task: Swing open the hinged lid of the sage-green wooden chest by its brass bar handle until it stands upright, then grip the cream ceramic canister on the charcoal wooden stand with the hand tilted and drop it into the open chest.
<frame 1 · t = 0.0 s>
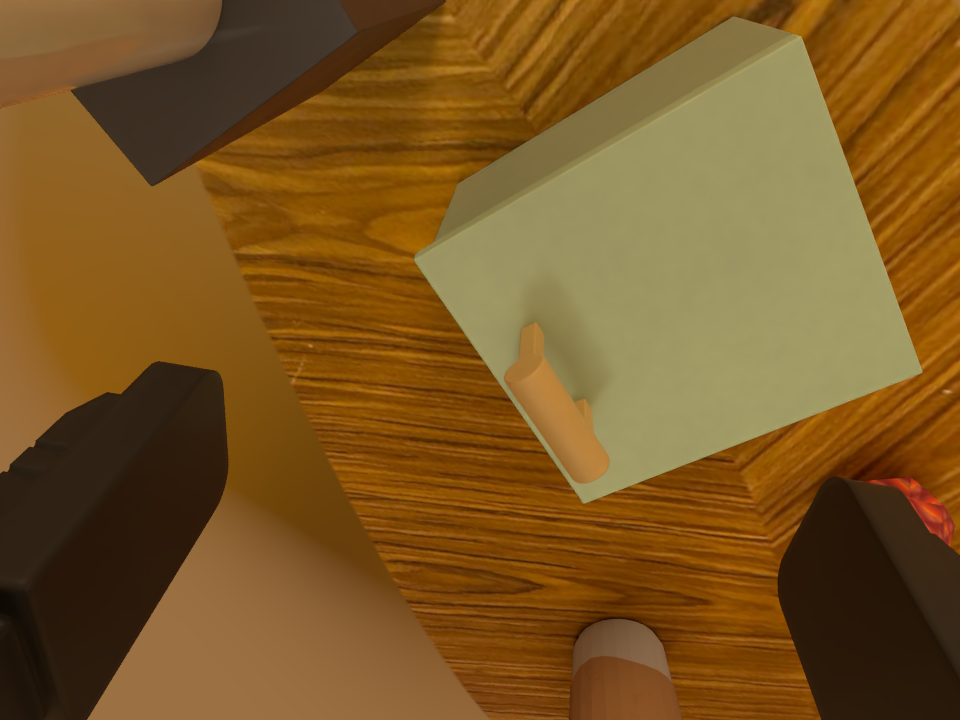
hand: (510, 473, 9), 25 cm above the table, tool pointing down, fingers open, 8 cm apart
red faceted ball: (866, 494, 39), on the table
coffee cup: (617, 643, 48), on the table
chest: (650, 232, 32), on the table
chest lid: (677, 339, 24), point 10 cm above the table, hinge at 0.0°
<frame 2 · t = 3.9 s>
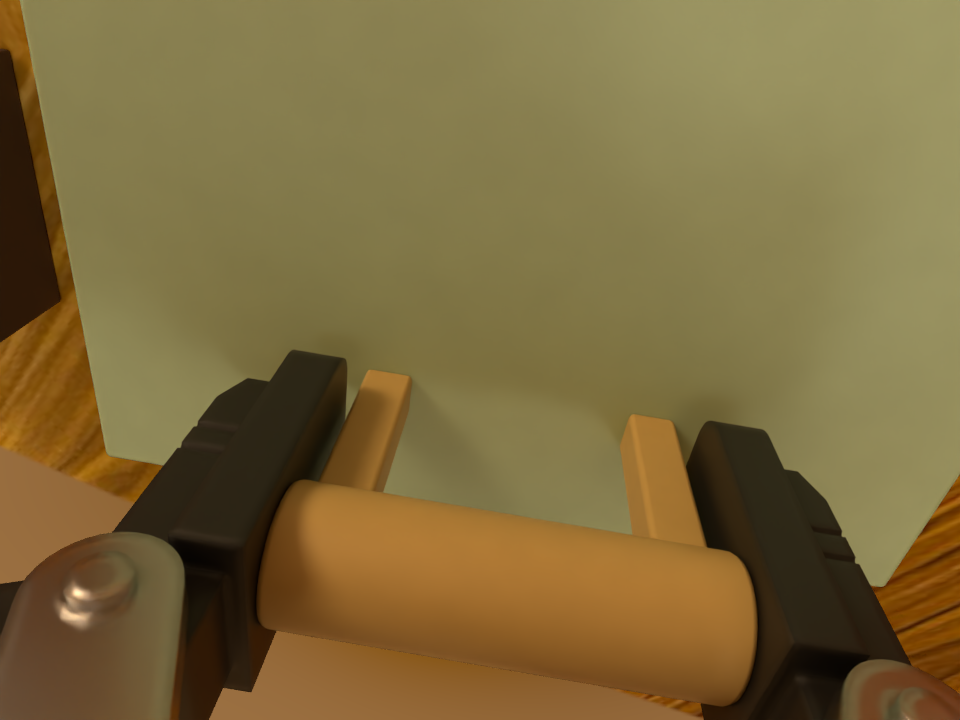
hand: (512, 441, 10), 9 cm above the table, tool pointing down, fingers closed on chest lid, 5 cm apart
chest lid: (595, 105, 6), point 10 cm above the table, hinge at -0.1°, touching gripper
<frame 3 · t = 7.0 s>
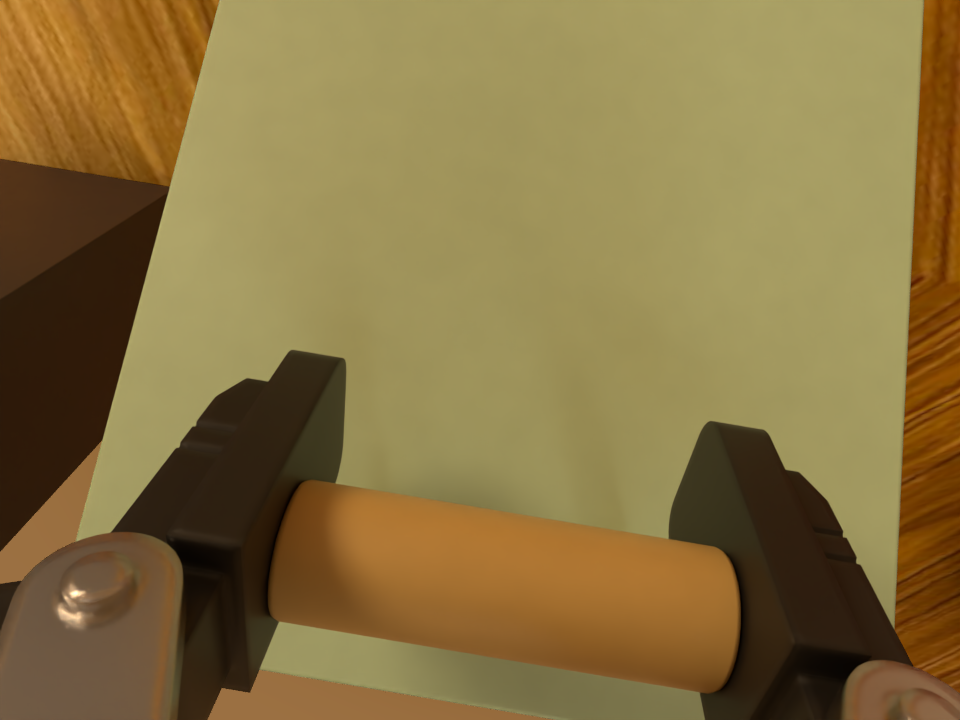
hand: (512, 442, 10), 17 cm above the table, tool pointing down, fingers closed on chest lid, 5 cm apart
chest lid: (544, 245, 10), point 15 cm above the table, hinge at 42.5°, touching gripper
stand: (102, 255, 28), on the table
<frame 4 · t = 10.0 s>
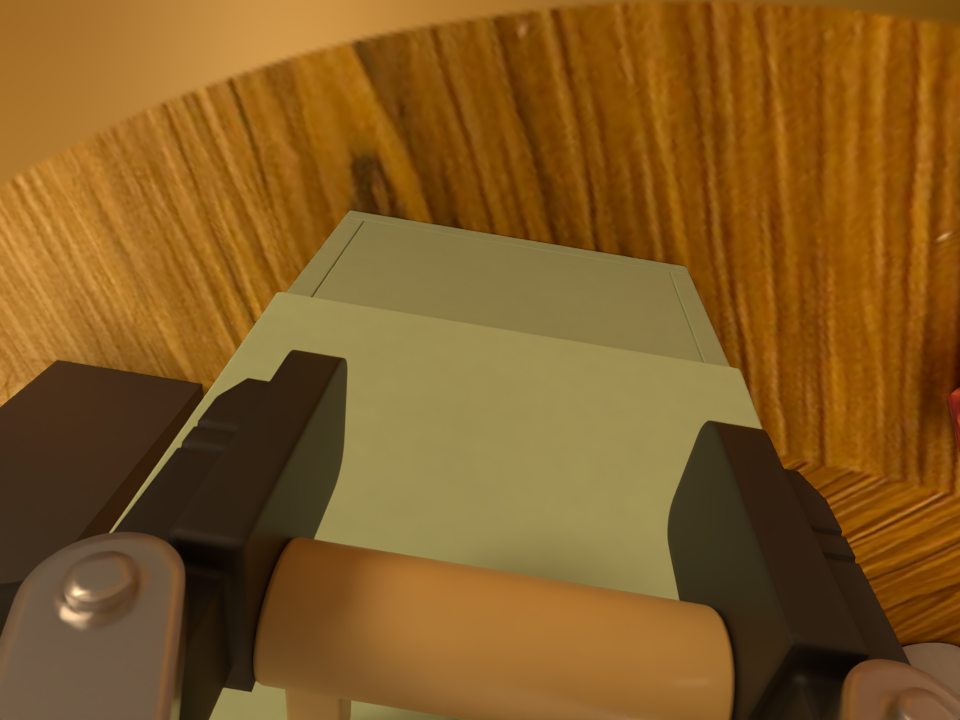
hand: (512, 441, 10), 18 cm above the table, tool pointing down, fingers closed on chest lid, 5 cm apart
coffee cup: (919, 671, 38), on the table
chest: (492, 378, 30), on the table
chest lid: (500, 459, 13), point 16 cm above the table, hinge at 86.2°, touching gripper
stand: (138, 429, 34), on the table
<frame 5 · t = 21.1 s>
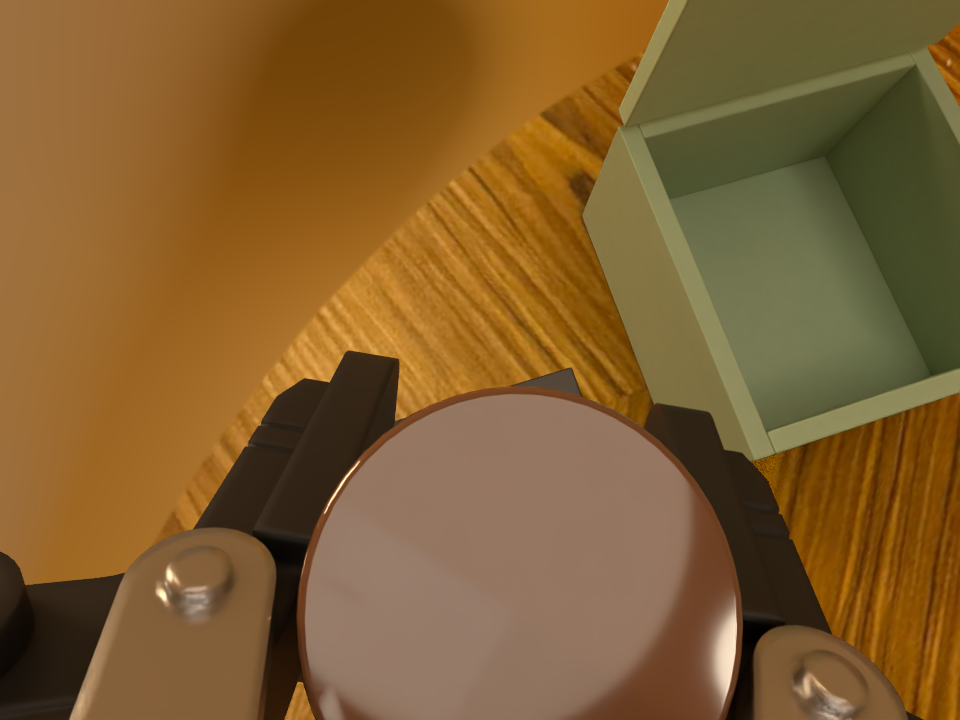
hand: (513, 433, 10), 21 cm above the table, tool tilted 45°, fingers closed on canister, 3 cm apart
chest: (757, 301, 33), on the table
stand: (467, 540, 30), on the table
canister: (478, 554, 15), point 15 cm above the table, touching gripper, stand
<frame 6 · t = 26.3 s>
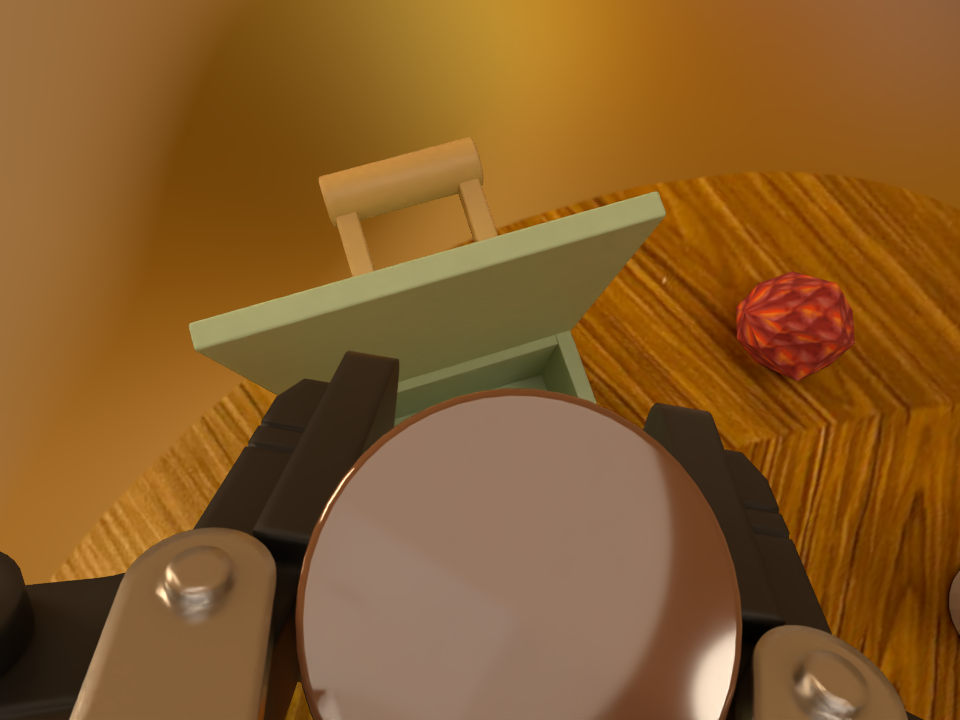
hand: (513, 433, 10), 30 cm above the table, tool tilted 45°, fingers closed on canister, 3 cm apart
red faceted ball: (772, 338, 42), on the table
chest: (476, 502, 39), on the table
chest lid: (422, 276, 26), point 16 cm above the table, hinge at 86.8°
canister: (478, 555, 15), point 24 cm above the table, touching gripper
when the fingers open (12 cm above the table, at t = 31.6 s): canister drops 5 cm, resting on chest.
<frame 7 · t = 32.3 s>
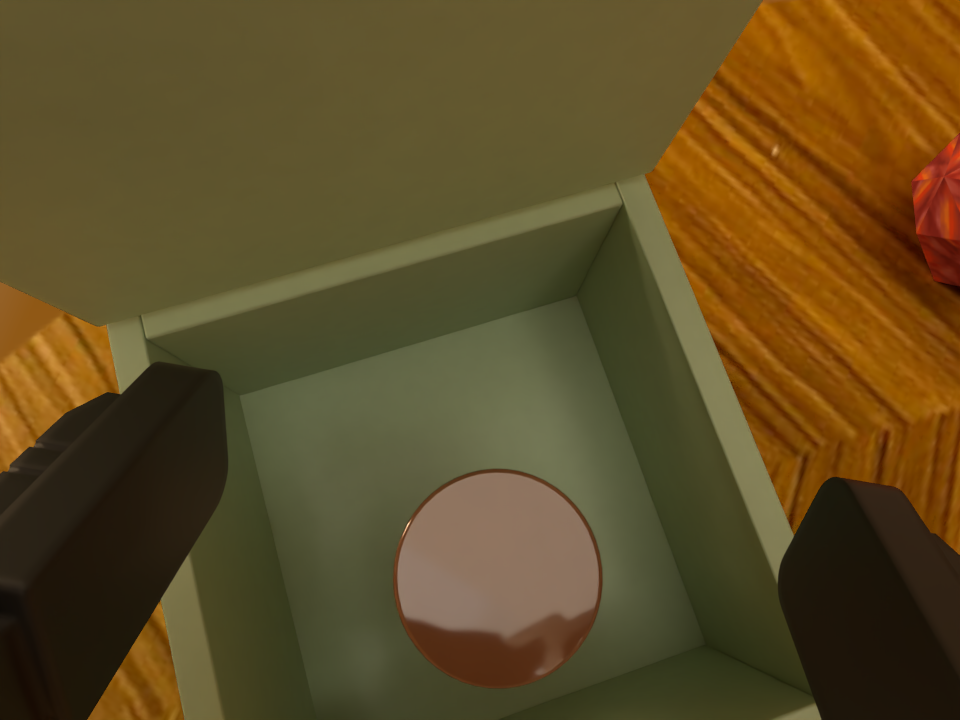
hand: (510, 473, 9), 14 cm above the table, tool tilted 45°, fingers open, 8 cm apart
red faceted ball: (956, 243, 26), on the table
chest: (464, 516, 22), on the table
canister: (473, 549, 21), point 1 cm above the table, touching chest
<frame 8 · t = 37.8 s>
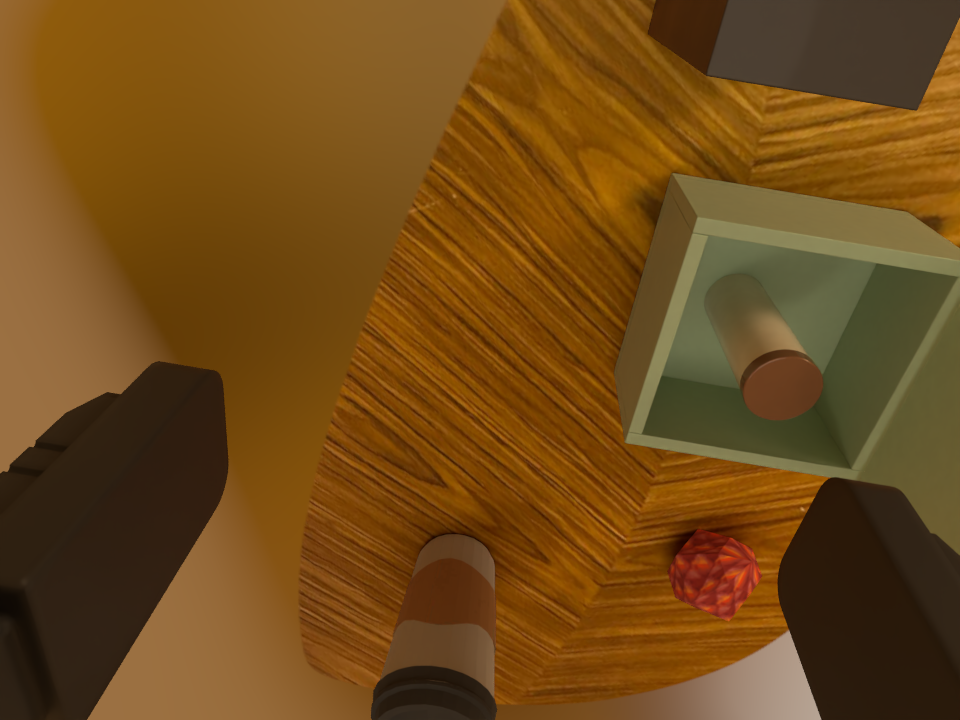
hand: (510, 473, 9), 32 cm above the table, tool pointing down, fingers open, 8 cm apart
red faceted ball: (705, 544, 53), on the table
coffee cup: (457, 557, 56), on the table
chest: (748, 298, 42), on the table
canister: (734, 300, 41), point 1 cm above the table, touching chest
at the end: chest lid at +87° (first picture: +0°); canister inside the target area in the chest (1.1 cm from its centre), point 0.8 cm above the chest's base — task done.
